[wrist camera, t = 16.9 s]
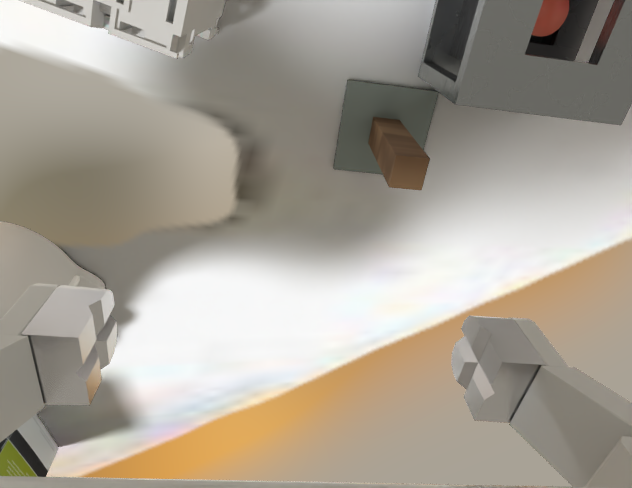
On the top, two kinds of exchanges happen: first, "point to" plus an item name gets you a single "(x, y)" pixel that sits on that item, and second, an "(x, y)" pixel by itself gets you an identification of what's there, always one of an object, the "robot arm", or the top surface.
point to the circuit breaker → (145, 20)
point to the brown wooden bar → (398, 154)
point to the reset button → (551, 17)
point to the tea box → (28, 450)
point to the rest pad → (382, 103)
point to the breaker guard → (530, 59)
